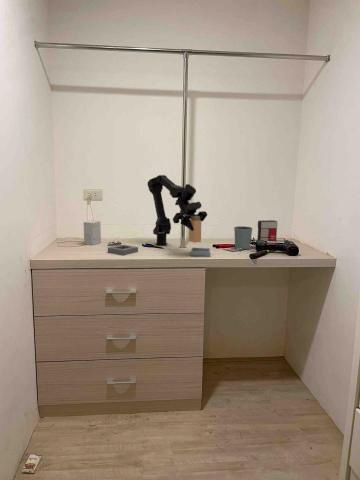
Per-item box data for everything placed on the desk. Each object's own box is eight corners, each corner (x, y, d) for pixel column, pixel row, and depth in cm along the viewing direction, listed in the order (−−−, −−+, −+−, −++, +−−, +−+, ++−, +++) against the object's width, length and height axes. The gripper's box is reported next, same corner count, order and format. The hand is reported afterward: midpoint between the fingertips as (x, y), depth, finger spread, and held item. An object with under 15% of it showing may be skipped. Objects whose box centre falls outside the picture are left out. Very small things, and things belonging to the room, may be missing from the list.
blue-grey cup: (253, 247, 219) (254, 227, 217) (248, 250, 210) (249, 229, 208) (236, 245, 224) (237, 225, 221) (230, 248, 215) (231, 227, 213)
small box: (92, 242, 226) (91, 220, 224) (101, 243, 224) (100, 221, 222) (83, 244, 219) (83, 221, 217) (92, 245, 217) (92, 222, 214)
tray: (191, 252, 204) (191, 247, 203) (210, 252, 203) (210, 248, 202) (190, 256, 194) (190, 251, 193) (210, 257, 193) (210, 252, 193)
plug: (188, 240, 195) (189, 215, 193) (195, 240, 198) (195, 215, 195) (194, 242, 191) (195, 217, 189) (200, 241, 193) (201, 216, 191)
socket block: (122, 250, 204) (122, 244, 203) (138, 253, 197) (138, 247, 197) (107, 254, 195) (107, 247, 194) (123, 257, 188) (123, 250, 188)
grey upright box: (259, 246, 222) (261, 221, 219) (256, 245, 226) (257, 220, 223) (276, 246, 225) (278, 221, 222) (273, 244, 229) (274, 220, 226)
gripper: (176, 196, 188) (188, 221, 181) (206, 195, 199) (218, 219, 192) (167, 210, 196) (178, 235, 189) (196, 209, 207) (208, 232, 200)
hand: (196, 230), depth 192 cm, fingers closed on plug, 4 cm apart
